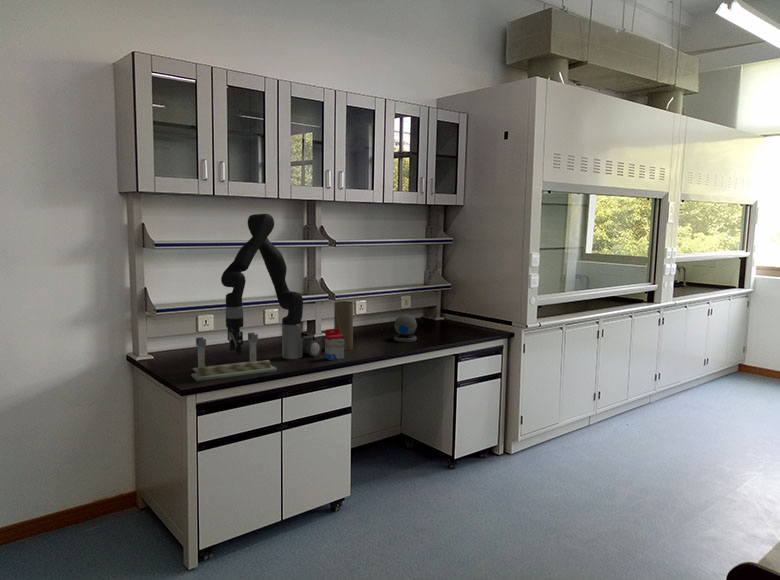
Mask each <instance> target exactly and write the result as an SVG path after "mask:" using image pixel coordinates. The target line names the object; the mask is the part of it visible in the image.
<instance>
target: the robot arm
mask: <svg viewBox="0 0 780 580" xmlns="http://www.w3.org/2000/svg"><path fill="white" fill-rule="evenodd" d="M274 227H275V220H274V218H273V216H272V215H271V214H269V213H256V214H251V215H249V217H248V219H247V228H248V230H249V233H250V235H251V237H250V239H248V241H246V242H245V243H244V244H243V246H241V248H240V249H239V250H238V252H237V254H236V256H235V258H234V260H233V261H232V262H231V263H230V264H229V265H228V267H227V268H225V270H224V271H223V273H222V275H221V278H220V283H221V284H222V286H224V287H226V288H232V291H231V292H228V293H226V294H225V326H226V328H227V340H228V342H229V351H232V352H233V351H235V354H236V355H242V346H243V345H244V339H243V338H244V337H243V335H244V333H243V331H241V328H243V327H244V309H243V294H244V290H245V288H246V287H245V286H246V277H245V273H243V272H246V271H248V269H249V267H250V266H251V263H252V261H253V259H254V258H255V256H256V254H257V252H258V251H259V253H260V255H261V257H262V260H263V261H264V262H263V263H264V265H265V268H266V270H267V272H268V275H269V277H270V280H271V283H272V285H273V287H274V291H275V294H276V298H277V302H278V305H279V306H280V307H281V309H283V310H287V311H288V312H287V315H286V316H283V317H282V319H281V329H282V330H281V342H282V344H281V345H282V347H281V348H282V349H281V353H282V355H281V356H282V359H285V360H297V359H301V358H303V354H302V340H303V337H302V334H301V333H302V330H301V329H302V319H303V312H304V311H303V310H304V299H303V295H302V294H301V293H299V292H297V291H290V289H289V287H288V284H287V281H286V279H287V276H286V275H287V269H288V268H287V263H286V261H285V259H284V256H283V254H282V252H281V251H280V250H279V249H278V248H277V247H276V246H275V245H274V244H273V243H272V242H271V241H270V240H269V238H268V237H269V236H270V234H271V233H272V232H273V230H274Z"/></svg>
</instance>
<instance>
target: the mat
mask: <svg viewBox="0 0 780 580" xmlns="http://www.w3.org/2000/svg"><path fill="white" fill-rule="evenodd" d="M277 371H278V368H277V367H275V366H273V365H272V364H270V368H264V369H256V370H248V371H240V372H232V373H224V374H216V375H208V376H200V377H199V376H198V373H195V372H194V373H191V374H190V375H191V377H192V378H193V379H194V380H195V381H196V382H200V381H208V380H215V379H222V378H230V377H231V378H232V377H238V376H246V375H255V374H260V373H261V374H262V373H269V372H277Z"/></svg>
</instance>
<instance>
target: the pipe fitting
mask: <svg viewBox="0 0 780 580" xmlns="http://www.w3.org/2000/svg"><path fill="white" fill-rule="evenodd" d="M321 344H322V343H321V342H320V341H319V340H314V335H311V334H310V335H305V336H303V337H302V355H309V356H311V357H318V356H319V355H320V354H321V352H322V345H321Z"/></svg>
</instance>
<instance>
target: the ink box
mask: <svg viewBox="0 0 780 580" xmlns="http://www.w3.org/2000/svg"><path fill="white" fill-rule="evenodd" d="M334 331H335V332H334ZM339 332H340V329H339V328H338V329H334V328H329V329H325V335H324V359H325V360H328V361H335V360H344V358H345V350H344V335H341V334H339Z"/></svg>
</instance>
